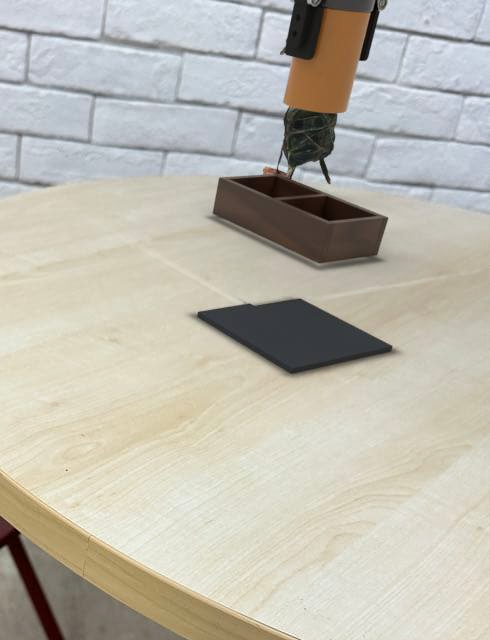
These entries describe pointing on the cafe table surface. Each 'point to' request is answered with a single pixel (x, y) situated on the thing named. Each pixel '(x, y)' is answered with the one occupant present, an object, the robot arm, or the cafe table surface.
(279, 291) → the cafe table surface
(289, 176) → the plant with pod
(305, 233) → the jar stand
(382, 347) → the coaster
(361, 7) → the jar
